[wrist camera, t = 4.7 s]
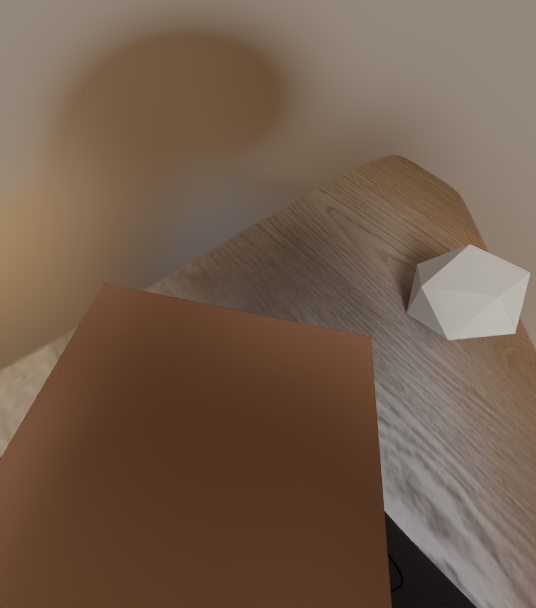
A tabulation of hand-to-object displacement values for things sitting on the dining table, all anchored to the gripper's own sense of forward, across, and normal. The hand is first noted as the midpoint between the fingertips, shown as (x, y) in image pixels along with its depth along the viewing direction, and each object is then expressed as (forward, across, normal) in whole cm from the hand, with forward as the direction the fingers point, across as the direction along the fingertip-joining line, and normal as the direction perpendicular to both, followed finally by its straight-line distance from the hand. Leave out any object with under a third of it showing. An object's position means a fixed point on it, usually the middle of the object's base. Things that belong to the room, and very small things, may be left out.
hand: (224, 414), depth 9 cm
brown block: (+4, 0, +6) cm, 7 cm away
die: (+18, -19, -2) cm, 26 cm away
